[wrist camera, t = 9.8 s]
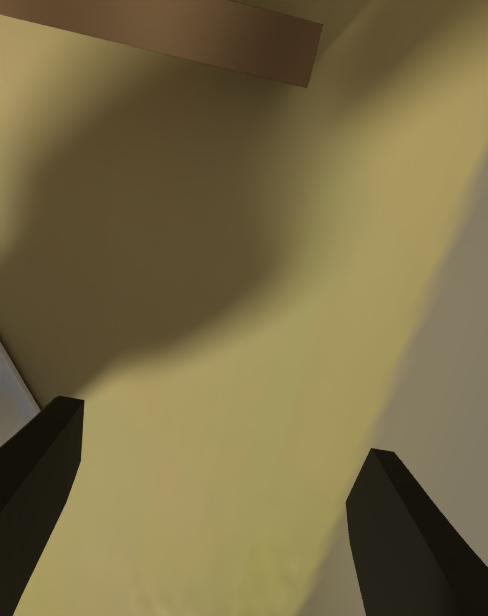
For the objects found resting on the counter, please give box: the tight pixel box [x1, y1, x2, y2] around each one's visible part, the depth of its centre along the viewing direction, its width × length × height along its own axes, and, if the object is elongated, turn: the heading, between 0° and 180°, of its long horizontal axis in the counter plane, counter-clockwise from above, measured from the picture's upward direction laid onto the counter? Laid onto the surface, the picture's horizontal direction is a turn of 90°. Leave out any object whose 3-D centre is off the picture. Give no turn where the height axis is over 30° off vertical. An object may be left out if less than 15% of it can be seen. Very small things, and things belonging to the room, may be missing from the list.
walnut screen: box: [0, 0, 323, 88], centre depth 13 cm, size 14×2×4 cm, turn 78°
